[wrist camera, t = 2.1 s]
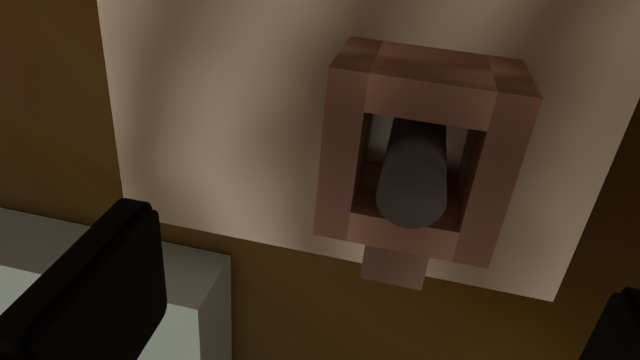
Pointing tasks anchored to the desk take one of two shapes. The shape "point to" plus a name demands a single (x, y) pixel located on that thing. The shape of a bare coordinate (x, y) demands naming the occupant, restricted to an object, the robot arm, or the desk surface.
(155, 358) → the tray
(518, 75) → the tabbed ring
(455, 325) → the desk surface
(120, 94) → the stake board
